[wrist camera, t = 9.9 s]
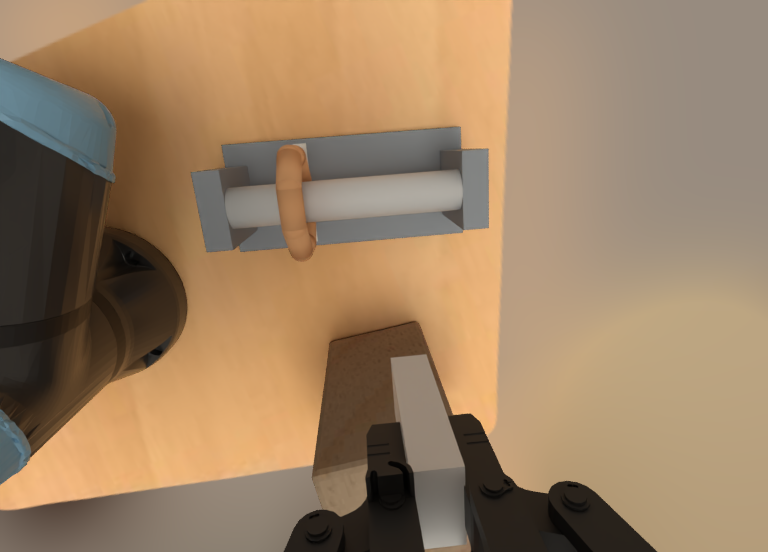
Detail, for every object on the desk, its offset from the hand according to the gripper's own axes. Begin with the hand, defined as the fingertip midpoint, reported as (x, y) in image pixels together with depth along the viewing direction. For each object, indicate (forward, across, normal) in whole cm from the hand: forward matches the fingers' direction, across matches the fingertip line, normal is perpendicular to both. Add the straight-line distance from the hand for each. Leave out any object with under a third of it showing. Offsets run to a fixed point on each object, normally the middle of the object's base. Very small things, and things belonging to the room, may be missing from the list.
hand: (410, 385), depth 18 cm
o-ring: (+23, -6, +6) cm, 24 cm away
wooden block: (+27, 0, -14) cm, 30 cm away
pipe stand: (+26, -2, +6) cm, 27 cm away
